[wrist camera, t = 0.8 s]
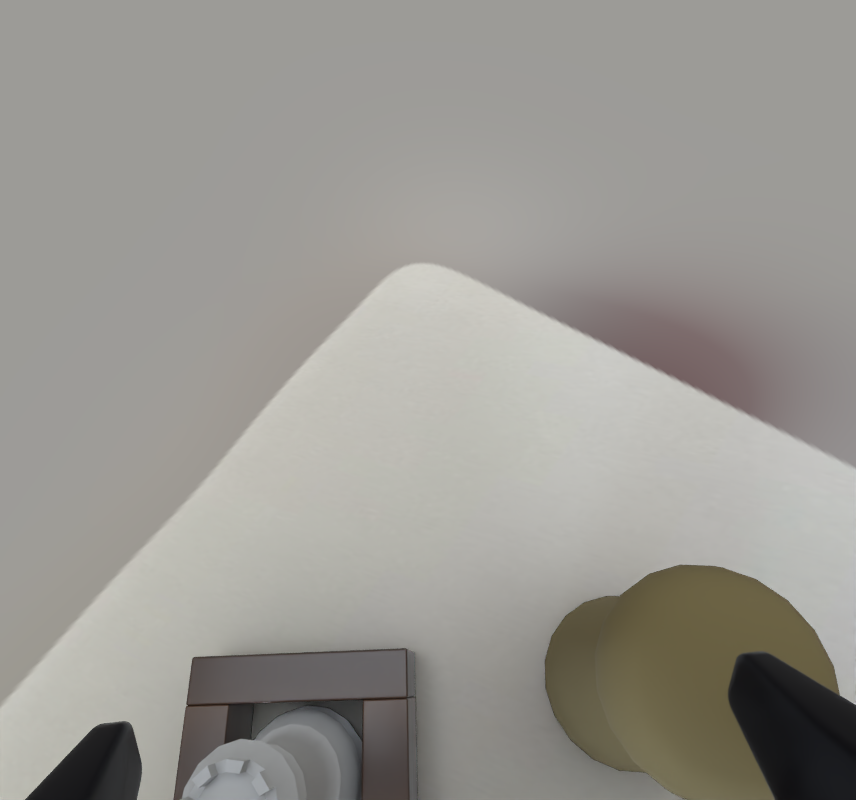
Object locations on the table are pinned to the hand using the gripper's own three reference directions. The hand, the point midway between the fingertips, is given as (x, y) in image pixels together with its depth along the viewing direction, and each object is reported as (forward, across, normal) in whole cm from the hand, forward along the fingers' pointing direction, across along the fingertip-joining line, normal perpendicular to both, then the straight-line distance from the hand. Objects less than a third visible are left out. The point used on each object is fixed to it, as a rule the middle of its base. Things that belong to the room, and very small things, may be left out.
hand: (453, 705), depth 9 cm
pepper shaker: (+9, -8, +11) cm, 17 cm away
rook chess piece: (+9, +4, +14) cm, 17 cm away
